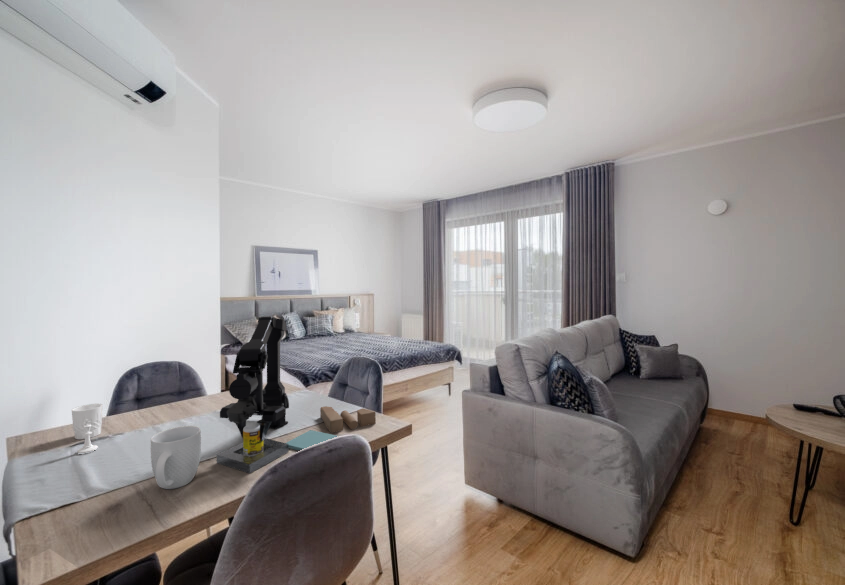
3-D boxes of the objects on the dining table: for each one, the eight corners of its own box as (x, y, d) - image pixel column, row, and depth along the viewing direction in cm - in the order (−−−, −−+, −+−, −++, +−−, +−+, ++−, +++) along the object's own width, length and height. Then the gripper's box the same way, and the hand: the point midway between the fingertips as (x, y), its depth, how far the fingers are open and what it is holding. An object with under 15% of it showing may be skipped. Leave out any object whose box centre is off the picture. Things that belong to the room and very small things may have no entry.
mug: (185, 500, 86) (184, 447, 86) (133, 506, 84) (132, 452, 84) (208, 469, 101) (207, 423, 101) (163, 474, 99) (162, 427, 98)
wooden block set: (330, 419, 124) (319, 404, 140) (331, 435, 125) (319, 418, 140) (376, 410, 133) (360, 397, 148) (376, 425, 133) (360, 410, 148)
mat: (284, 446, 115) (284, 443, 115) (310, 432, 126) (310, 429, 126) (312, 454, 110) (312, 450, 110) (337, 438, 120) (337, 435, 120)
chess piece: (101, 449, 114) (100, 418, 114) (81, 455, 110) (80, 423, 110) (93, 446, 116) (92, 415, 116) (73, 452, 112) (72, 421, 112)
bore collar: (216, 462, 105) (216, 454, 105) (257, 443, 117) (256, 436, 117) (249, 473, 99) (249, 464, 99) (288, 451, 111) (288, 443, 111)
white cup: (67, 438, 123) (66, 409, 122) (95, 429, 130) (94, 402, 130) (80, 441, 120) (79, 412, 120) (108, 432, 127) (107, 405, 127)
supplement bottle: (247, 459, 104) (247, 424, 104) (240, 453, 108) (239, 419, 108) (266, 452, 108) (266, 419, 108) (259, 447, 112) (258, 414, 112)
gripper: (204, 395, 101) (205, 449, 102) (263, 399, 98) (264, 455, 98) (232, 384, 112) (233, 433, 113) (286, 387, 109) (287, 438, 109)
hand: (253, 439), depth 108 cm, fingers closed on supplement bottle, 5 cm apart
